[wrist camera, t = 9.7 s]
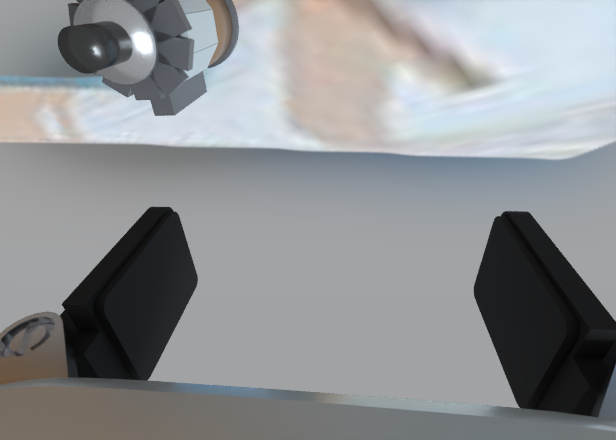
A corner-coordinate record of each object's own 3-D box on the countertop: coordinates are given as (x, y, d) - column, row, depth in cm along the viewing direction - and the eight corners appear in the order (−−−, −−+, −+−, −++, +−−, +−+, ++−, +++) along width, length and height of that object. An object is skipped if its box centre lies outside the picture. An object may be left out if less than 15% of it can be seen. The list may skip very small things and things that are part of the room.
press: (231, -32, 37) (172, -41, 25) (247, 82, 43) (206, 121, 31) (145, -26, 38) (46, -32, 26) (173, 85, 44) (104, 122, 32)
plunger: (188, -10, 31) (104, -7, 21) (203, 62, 35) (137, 96, 24) (126, -6, 32) (14, -2, 21) (146, 64, 35) (58, 98, 25)
